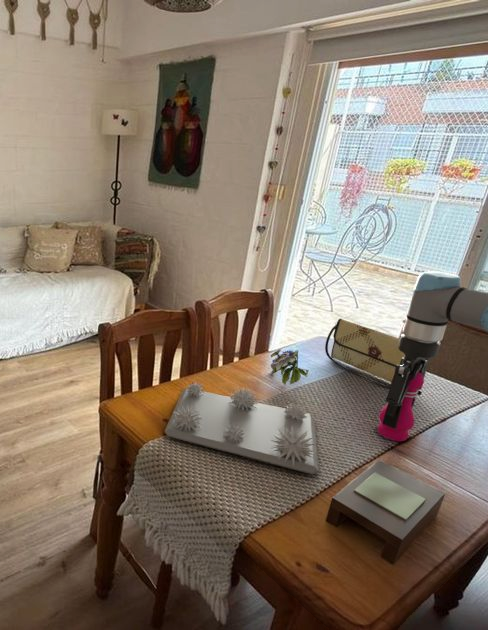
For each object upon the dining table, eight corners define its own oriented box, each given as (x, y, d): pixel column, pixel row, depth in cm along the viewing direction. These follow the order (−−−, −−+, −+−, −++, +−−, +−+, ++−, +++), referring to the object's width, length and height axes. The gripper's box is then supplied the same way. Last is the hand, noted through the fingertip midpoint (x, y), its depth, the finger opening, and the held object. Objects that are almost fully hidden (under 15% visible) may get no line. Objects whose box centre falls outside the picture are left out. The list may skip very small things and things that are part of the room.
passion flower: (270, 388, 147) (268, 352, 150) (307, 388, 143) (304, 352, 146) (271, 383, 137) (269, 346, 140) (311, 384, 133) (307, 345, 136)
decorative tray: (312, 422, 119) (320, 390, 116) (317, 484, 97) (326, 447, 94) (183, 393, 133) (186, 364, 130) (162, 441, 112) (165, 408, 108)
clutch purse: (317, 359, 155) (326, 319, 150) (329, 355, 158) (339, 316, 153) (409, 399, 130) (424, 353, 125) (422, 393, 133) (437, 349, 128)
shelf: (436, 516, 89) (446, 492, 87) (393, 564, 79) (402, 539, 76) (372, 481, 98) (379, 458, 96) (325, 520, 88) (332, 496, 86)
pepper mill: (372, 434, 112) (392, 364, 105) (377, 422, 117) (396, 354, 110) (407, 446, 108) (430, 374, 101) (411, 433, 113) (433, 363, 106)
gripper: (419, 323, 111) (396, 402, 119) (383, 341, 101) (360, 426, 109) (456, 333, 105) (429, 414, 113) (422, 353, 95) (395, 441, 103)
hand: (396, 420), depth 111 cm, fingers closed on pepper mill, 7 cm apart
